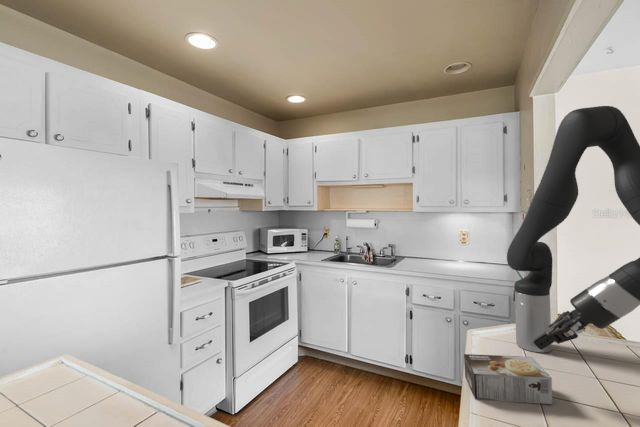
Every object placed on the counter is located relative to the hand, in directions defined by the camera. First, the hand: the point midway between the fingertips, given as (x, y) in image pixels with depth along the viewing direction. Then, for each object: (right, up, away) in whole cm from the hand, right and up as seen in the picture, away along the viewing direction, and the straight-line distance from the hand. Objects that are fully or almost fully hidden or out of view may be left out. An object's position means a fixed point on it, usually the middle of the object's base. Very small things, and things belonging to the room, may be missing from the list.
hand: (536, 345), depth 73 cm
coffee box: (0, -7, -2) cm, 7 cm away
